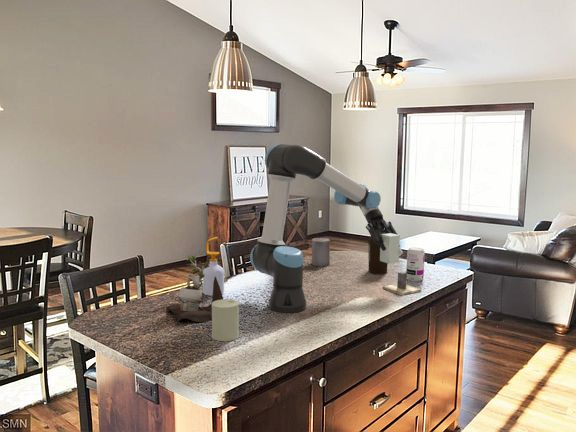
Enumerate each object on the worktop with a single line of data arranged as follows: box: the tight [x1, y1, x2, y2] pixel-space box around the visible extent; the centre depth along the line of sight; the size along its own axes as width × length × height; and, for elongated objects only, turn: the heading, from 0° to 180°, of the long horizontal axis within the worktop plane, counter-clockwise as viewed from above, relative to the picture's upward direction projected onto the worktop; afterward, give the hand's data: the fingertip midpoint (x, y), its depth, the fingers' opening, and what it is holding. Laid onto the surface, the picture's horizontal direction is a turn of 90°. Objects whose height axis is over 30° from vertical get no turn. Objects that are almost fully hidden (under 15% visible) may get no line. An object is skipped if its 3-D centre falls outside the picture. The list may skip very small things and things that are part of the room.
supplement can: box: [405, 247, 426, 282], centre depth 253 cm, size 8×8×15 cm
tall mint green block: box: [380, 233, 401, 264], centre depth 230 cm, size 6×6×12 cm
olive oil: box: [367, 231, 389, 275], centre depth 266 cm, size 11×11×25 cm
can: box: [211, 298, 240, 342], centre depth 175 cm, size 9×9×12 cm
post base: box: [382, 271, 422, 296], centre depth 234 cm, size 12×12×8 cm
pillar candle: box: [311, 237, 331, 267], centre depth 282 cm, size 10×10×15 cm
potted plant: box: [166, 254, 224, 324], centre depth 199 cm, size 20×19×25 cm
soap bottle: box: [202, 236, 225, 297], centre depth 224 cm, size 9×9×25 cm
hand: (395, 255), depth 227 cm, fingers closed on tall mint green block, 6 cm apart
